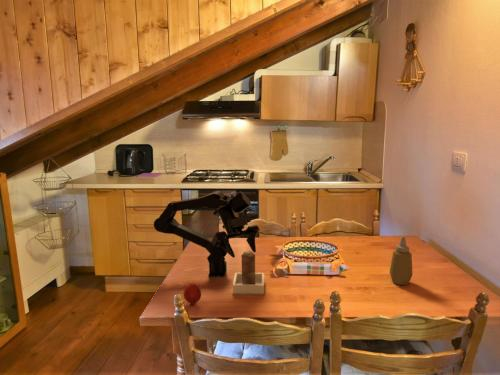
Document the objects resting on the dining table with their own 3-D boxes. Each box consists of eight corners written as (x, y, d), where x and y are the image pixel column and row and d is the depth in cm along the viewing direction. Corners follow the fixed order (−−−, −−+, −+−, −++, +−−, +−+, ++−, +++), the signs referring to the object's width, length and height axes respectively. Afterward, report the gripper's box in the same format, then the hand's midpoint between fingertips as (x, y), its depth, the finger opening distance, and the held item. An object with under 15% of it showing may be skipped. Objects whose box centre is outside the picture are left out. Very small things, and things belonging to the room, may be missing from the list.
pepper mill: (241, 288, 136) (241, 255, 133) (242, 283, 141) (241, 250, 138) (255, 289, 136) (254, 255, 133) (255, 283, 140) (255, 250, 138)
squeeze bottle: (411, 279, 144) (414, 234, 141) (412, 288, 136) (416, 241, 133) (388, 276, 146) (391, 233, 143) (389, 285, 139) (392, 239, 136)
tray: (232, 294, 133) (232, 285, 132) (235, 281, 144) (235, 272, 143) (263, 294, 132) (263, 285, 132) (264, 281, 143) (264, 272, 143)
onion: (185, 300, 129) (184, 279, 127) (201, 299, 129) (201, 278, 128) (183, 309, 123) (182, 286, 121) (201, 308, 123) (200, 285, 122)
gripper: (214, 211, 134) (230, 249, 127) (256, 204, 144) (274, 239, 137) (205, 227, 142) (220, 263, 135) (246, 220, 152) (262, 253, 145)
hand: (244, 254), depth 138 cm, fingers open, 9 cm apart
